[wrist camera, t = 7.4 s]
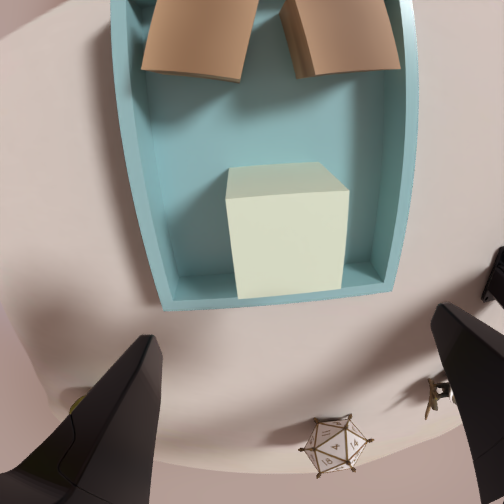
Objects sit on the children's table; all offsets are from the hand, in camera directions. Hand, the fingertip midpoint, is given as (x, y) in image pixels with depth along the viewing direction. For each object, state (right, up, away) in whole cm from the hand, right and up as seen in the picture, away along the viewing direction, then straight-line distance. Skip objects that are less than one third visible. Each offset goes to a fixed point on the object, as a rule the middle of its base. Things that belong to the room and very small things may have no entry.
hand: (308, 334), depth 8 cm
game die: (+9, -20, +25) cm, 33 cm away
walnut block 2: (+2, +13, +4) cm, 14 cm away
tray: (-1, +9, +7) cm, 11 cm away
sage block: (0, +5, +9) cm, 10 cm away
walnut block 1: (-4, +13, +4) cm, 14 cm away
